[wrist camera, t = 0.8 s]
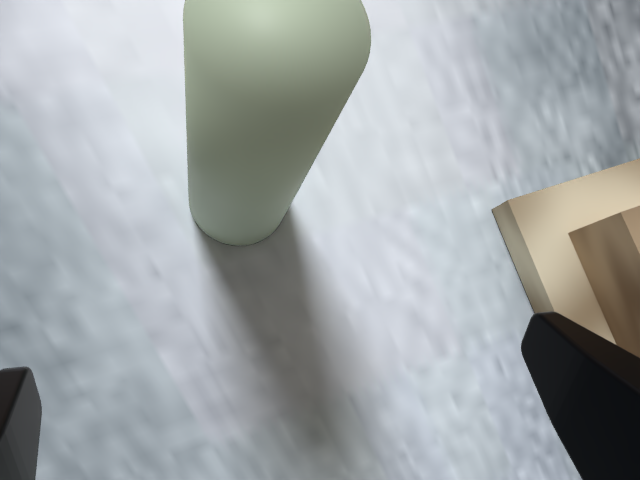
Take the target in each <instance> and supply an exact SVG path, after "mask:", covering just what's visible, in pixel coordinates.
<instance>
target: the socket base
mask: <svg viewBox="0 0 640 480" xmlns="http://www.w3.org/2000/svg"><path fill="white" fill-rule="evenodd" d="M492 212H493V214H494V216H495V219H496V221H497V224H498V226H499V228H500V231H501V233H502V236H503V238H504V240H505V243H506V245H507V248H508V250H509V252H510V255H511V257H512V260H513V262H514V264H515V267H516V269H517V272H518V274H519V277H520V279H521V281H522V284H523V286H524V289H525V291H526V293H527V296H528V298H529V301H530V303H531V305H532V308H533V310H534V313H539V312H548V311H554V312H557V313H559V314H561V315H563V316H565V317H567V318H568V319H570V320H572V321H574V322H576V323H577V324H579V325H581V326H583V327H585V328H587V329H588V330H590V331H592V332H594V333H596V334H597V335H599V336H601V337H603V338H605V339H607V340H608V341H610V342H612V343H614V344H616V345H618V346H619V347H621V348H623V349H625V350H627V351H628V352H630V353H632V354H634V355H636V356H638V357H639V358H640V159H637V160H634V161H630V162H627V163H624V164H621V165H618V166H615V167H611V168H608V169H605V170H602V171H599V172H596V173H593V174H589V175H586V176H583V177H580V178H577V179H574V180H570V181H567V182H564V183H561V184H558V185H555V186H551V187H548V188H545V189H542V190H539V191H536V192H533V193H529V194H526V195H523V196H520V197H517V198H514V199H510V200H507V201H506V202H504V203H502V204H500V205H499V206H497V207H495V208H494V209H492Z"/></svg>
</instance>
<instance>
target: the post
mask: <svg viewBox="0 0 640 480" xmlns="http://www.w3.org/2000/svg"><path fill="white" fill-rule="evenodd" d="M183 32H184V65H185V97H186V129H187V161H188V194H189V206H190V210H191V213H192V216H193V218H194V220H195V222H196V223H197V225H198V226H199V227H200V228H201V229H202V231H203V232H204V233H206V234H207V235H208V236H210V237H211V238H213V239H214V240H216V241H219V242H221V243H224V244H228V245H234V246H244V245H250V244H254V243H257V242H260V241H261V240H263V239H265V238H267V237H268V236H269V235H271V234H272V233H273V232H274V231H275V230H276V228H277V227H278V226H279V224H280V223H281V221H282V219H283V217H284V215H285V214H286V212H287V210H288V208H289V206H290V205H291V203H292V201H293V199H294V197H295V195H296V194H297V192H298V190H299V188H300V186H301V184H302V183H303V181H304V179H305V177H306V175H307V173H308V172H309V170H310V168H311V166H312V164H313V162H314V161H315V159H316V157H317V155H318V153H319V151H320V150H321V148H322V146H323V144H324V142H325V140H326V139H327V137H328V135H329V133H330V131H331V129H332V128H333V126H334V124H335V122H336V120H337V118H338V117H339V115H340V113H341V111H342V109H343V107H344V106H345V104H346V102H347V100H348V98H349V96H350V95H351V93H352V91H353V89H354V87H355V85H356V84H357V82H358V80H359V78H360V76H361V75H362V73H363V71H364V68H365V66H366V64H367V61H368V57H369V53H370V46H371V30H370V25H369V20H368V17H367V14H366V11H365V8H364V6H363V4H362V2H361V0H185V4H184V10H183Z"/></svg>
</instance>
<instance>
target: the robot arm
mask: <svg viewBox="0 0 640 480" xmlns="http://www.w3.org/2000/svg"><path fill="white" fill-rule="evenodd" d="M521 351H522V355H523V358H524V360H525V363H526V365H527V367H528V370H529V372H530V374H531V377H532V379H533V381H534V384H535V386H536V388H537V391H538V393H539V395H540V398H541V400H542V402H543V405H544V407H545V409H546V412H547V414H548V416H549V418H550V420H551V423H552V425H553V427H554V428H555V430H556V432H557V434H558V436H559V438H560V440H561V442H562V443H563V445H564V447H565V449H566V451H567V452H568V454H569V456H570V458H571V460H572V462H573V463H574V465H575V467H576V469H577V471H578V472H579V474H580V476H581V478H582V480H640V358H639V357H638V356H636V355H634V354H632V353H630V352H628V351H627V350H625V349H623V348H621V347H619V346H618V345H616V344H614V343H612V342H610V341H608V340H607V339H605V338H603V337H601V336H599V335H597V334H596V333H594V332H592V331H590V330H588V329H587V328H585V327H583V326H581V325H579V324H577V323H576V322H574V321H572V320H570V319H568V318H567V317H565V316H563V315H561V314H559V313H557V312H554V311H548V312H539V313H535V314H534V315H533V316H532V317H531V319H530V322H529V324H528V327H527V330H526V332H525V335H524V337H523V340H522V343H521ZM41 416H42V407H41V400H40V396H39V393H38V390H37V386H36V383H35V379H34V376H33V373H32V371H31V369H30V368H29V367H15V368H6V369H2V370H0V480H35V476H36V466H37V456H38V446H39V436H40V426H41Z"/></svg>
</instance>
